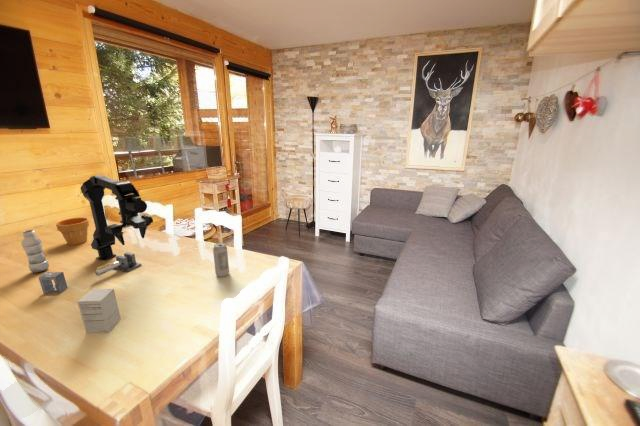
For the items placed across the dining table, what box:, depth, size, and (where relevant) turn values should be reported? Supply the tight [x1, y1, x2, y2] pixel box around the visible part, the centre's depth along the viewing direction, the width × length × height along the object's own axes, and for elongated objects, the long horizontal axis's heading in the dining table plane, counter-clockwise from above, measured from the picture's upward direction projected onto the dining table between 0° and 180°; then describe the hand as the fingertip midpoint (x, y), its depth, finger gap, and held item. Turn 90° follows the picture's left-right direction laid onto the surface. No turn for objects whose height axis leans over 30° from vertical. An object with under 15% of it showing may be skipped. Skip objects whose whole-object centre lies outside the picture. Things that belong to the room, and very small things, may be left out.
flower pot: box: [55, 217, 90, 246], centre depth 165 cm, size 14×14×13 cm
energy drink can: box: [212, 242, 230, 278], centre depth 130 cm, size 6×6×15 cm
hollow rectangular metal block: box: [37, 271, 69, 295], centre depth 117 cm, size 6×4×8 cm, turn 95°
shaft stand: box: [94, 252, 142, 277], centre depth 133 cm, size 10×17×6 cm, turn 160°
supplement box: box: [77, 288, 122, 334], centre depth 96 cm, size 7×7×13 cm
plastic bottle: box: [21, 229, 50, 274], centre depth 131 cm, size 6×7×20 cm
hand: (133, 241), depth 133 cm, fingers open, 9 cm apart
